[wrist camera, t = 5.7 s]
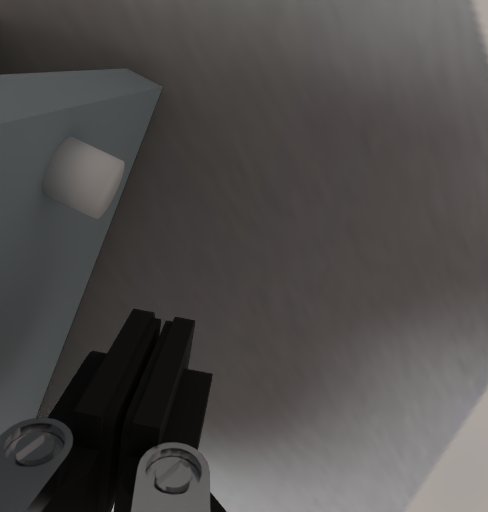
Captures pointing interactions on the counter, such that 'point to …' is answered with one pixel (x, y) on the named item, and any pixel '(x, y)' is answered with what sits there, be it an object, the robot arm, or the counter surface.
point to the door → (57, 209)
